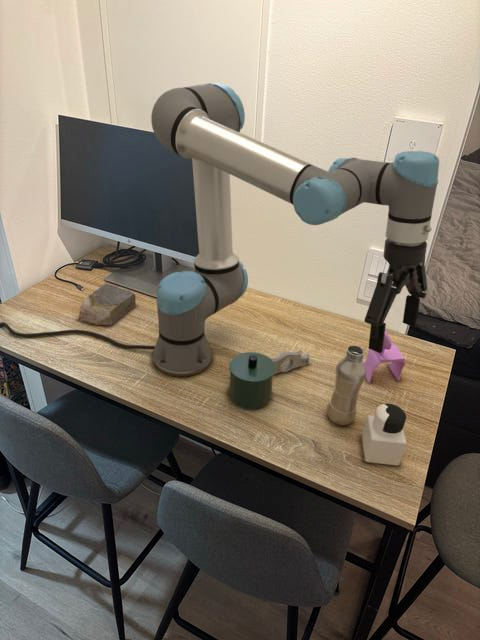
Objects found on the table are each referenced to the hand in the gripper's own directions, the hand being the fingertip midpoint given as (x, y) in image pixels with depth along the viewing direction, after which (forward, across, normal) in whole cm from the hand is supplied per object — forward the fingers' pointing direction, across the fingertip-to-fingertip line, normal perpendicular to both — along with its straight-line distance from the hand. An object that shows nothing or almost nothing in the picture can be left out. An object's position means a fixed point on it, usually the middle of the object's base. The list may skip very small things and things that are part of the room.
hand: (392, 336), depth 101 cm
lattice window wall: (+21, -1, +27) cm, 34 cm away
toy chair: (+23, +16, +10) cm, 29 cm away
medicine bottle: (+24, -8, -4) cm, 26 cm away
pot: (+20, -16, +27) cm, 37 cm away
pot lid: (+12, -16, +26) cm, 33 cm away
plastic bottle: (+23, -6, +7) cm, 25 cm away
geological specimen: (+14, -22, +80) cm, 84 cm away
